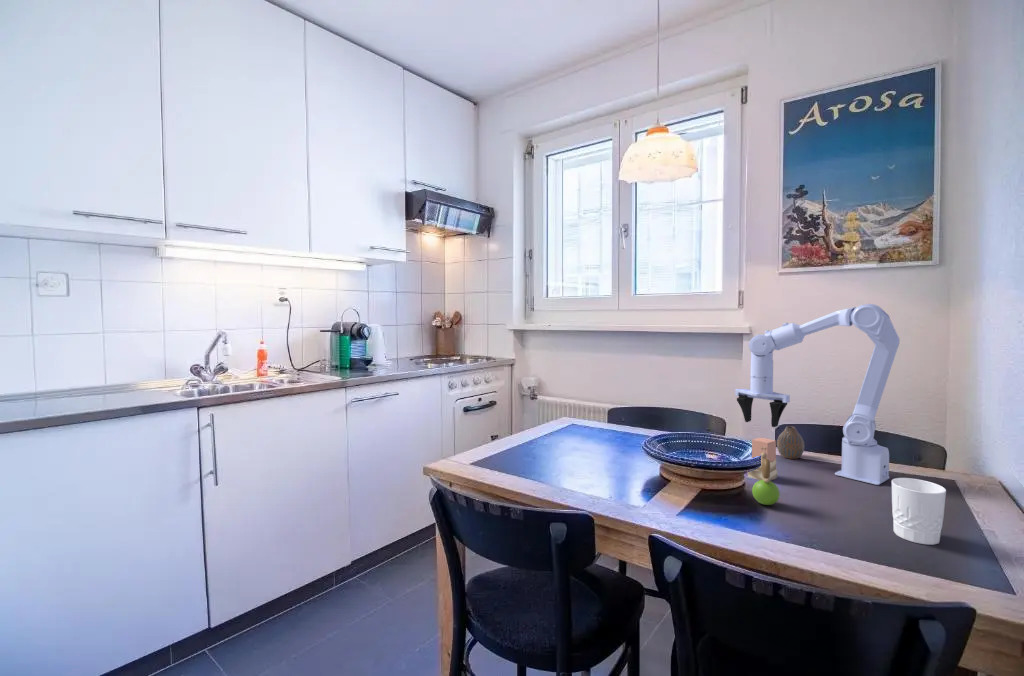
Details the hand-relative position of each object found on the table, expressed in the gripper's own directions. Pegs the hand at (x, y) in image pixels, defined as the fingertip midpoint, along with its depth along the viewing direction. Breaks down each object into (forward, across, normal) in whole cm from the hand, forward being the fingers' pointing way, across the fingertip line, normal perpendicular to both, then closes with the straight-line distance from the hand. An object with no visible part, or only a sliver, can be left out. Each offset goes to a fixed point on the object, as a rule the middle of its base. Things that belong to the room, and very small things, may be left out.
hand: (761, 423), depth 136 cm
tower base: (+11, +7, -13) cm, 19 cm away
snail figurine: (+11, +16, -29) cm, 35 cm away
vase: (+11, +4, +9) cm, 14 cm away
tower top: (+8, +7, -14) cm, 18 cm away
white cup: (+11, +41, -22) cm, 48 cm away
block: (+6, +8, -13) cm, 16 cm away
